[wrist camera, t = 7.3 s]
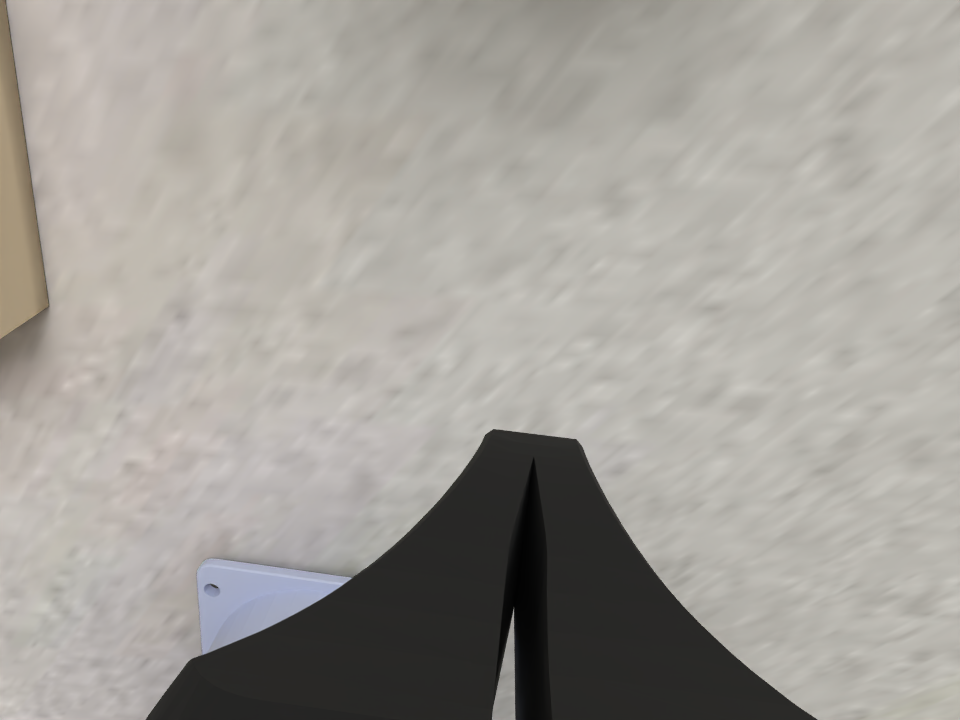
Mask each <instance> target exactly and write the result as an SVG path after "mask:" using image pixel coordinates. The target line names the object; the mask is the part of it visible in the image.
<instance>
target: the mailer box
mask: <svg viewBox="0 0 960 720" xmlns="http://www.w3.org/2000/svg"><path fill="white" fill-rule="evenodd" d="M48 306H49V303H48V296H47V289H46V282H45V275H44V268H43V261H42V254H41V247H40V240H39V233H38V226H37V219H36V212H35V205H34V198H33V191H32V184H31V177H30V170H29V163H28V156H27V149H26V142H25V135H24V128H23V121H22V114H21V107H20V100H19V93H18V86H17V79H16V72H15V65H14V58H13V51H12V44H11V37H10V30H9V23H8V16H7V9H6V2H5V0H0V339H1V338H2V337H4V336H5V335H7V334H8V333H10V332H11V331H13V330H14V329H16V328H17V327H19V326H20V325H22V324H23V323H25V322H26V321H27V320H29V319H30V318H32V317H33V316H35V315H36V314H38V313H39V312H41V311H42V310H44V309H45V308H47V307H48Z"/></svg>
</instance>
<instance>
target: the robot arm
mask: <svg viewBox="0 0 960 720" xmlns="http://www.w3.org/2000/svg"><path fill="white" fill-rule="evenodd" d="M210 584H214V585H216V586H217V587H218V588H214V587H212V586H211V585H210ZM197 589H198V603H199V618H200V632H201V646H202V655H201V656H198V657H196V658H193V659H191V660H190V661H189V662H188V663H187V664H186V666H185V667H184V668H183V670H182V671H181V672H180V674H179V675H178V676H177V678H176V679H175V680H174V682H173V683H172V684H171V685H170V687H169V688H168V689H167V691H166V692H165V693H164V695H163V696H162V698H161V699H160V700H159V702H158V703H157V704H156V706H155V707H154V709H153V710H152V711H151V713H150V714H149V715H148V717H147V718H146V720H492V711H493V705H494V700H495V695H496V690H497V686H498V681H499V676H500V671H501V667H502V662H503V657H504V652H505V648H506V643H507V638H508V633H509V628H510V624H511V619H512V614H513V609H514V640H515V716H516V720H817V719H816V718H814V717H813V716H811V715H810V714H808V713H807V712H805V711H804V710H802V709H801V708H799V707H798V706H796V705H795V704H794V703H792V702H791V701H790V700H788V699H787V698H786V697H784V696H783V695H782V694H781V693H779V692H778V691H777V690H775V689H774V688H773V687H772V686H770V685H769V684H768V683H767V682H765V681H764V680H763V679H761V678H760V677H759V676H758V675H756V674H755V673H754V672H753V671H751V670H750V669H749V668H748V667H747V666H746V665H744V664H743V663H742V662H741V661H740V660H739V659H737V658H736V657H735V656H734V655H733V654H732V653H730V652H729V651H728V650H727V649H726V648H725V647H724V646H723V645H722V644H721V643H720V642H719V641H718V640H717V639H716V638H714V637H713V636H712V635H711V634H710V633H709V632H708V631H707V630H706V629H705V628H704V627H703V626H702V625H701V624H700V623H699V622H698V621H697V620H696V619H695V618H694V617H693V616H692V615H691V614H690V613H689V612H688V611H687V610H686V609H685V608H684V607H683V606H682V605H681V603H680V602H679V601H678V600H677V599H676V598H675V596H674V595H673V594H672V593H671V592H670V591H669V590H668V588H667V587H666V586H665V585H664V583H663V582H662V581H661V580H660V578H659V577H658V576H657V575H656V573H655V572H654V571H653V569H652V568H651V567H650V565H649V564H648V563H647V561H646V560H645V558H644V557H643V555H642V554H641V553H640V551H639V550H638V548H637V547H636V546H635V544H634V543H633V541H632V540H631V538H630V537H629V535H628V533H627V532H626V530H625V529H624V527H623V526H622V524H621V522H620V521H619V519H618V517H617V516H616V514H615V512H614V511H613V509H612V507H611V505H610V504H609V502H608V500H607V498H606V497H605V495H604V493H603V491H602V489H601V487H600V485H599V483H598V481H597V479H596V477H595V475H594V473H593V471H592V469H591V467H590V465H589V462H588V460H587V458H586V455H585V453H584V450H583V447H582V446H581V445H580V443H579V442H578V441H577V440H576V439H569V438H561V437H553V436H545V435H537V434H529V433H520V432H512V431H504V430H496V429H493V430H492V431H490V432H489V433H487V434H486V435H485V437H484V439H483V441H482V443H481V445H480V447H479V448H478V450H477V452H476V453H475V455H474V456H473V458H472V459H471V461H470V462H469V464H468V465H467V466H466V468H465V469H464V470H463V472H462V473H461V475H460V476H459V477H458V478H457V479H456V481H455V482H454V483H453V484H452V486H451V487H450V488H449V489H448V490H447V492H446V493H445V494H444V495H443V497H442V498H441V499H440V500H439V501H438V502H437V503H436V504H435V505H434V507H433V508H432V509H431V510H430V511H429V512H428V513H427V514H426V515H425V516H424V517H423V518H422V519H421V520H420V521H419V522H418V523H417V524H416V525H415V526H414V527H413V528H412V529H411V530H410V531H409V532H408V533H407V534H406V535H405V536H404V537H403V538H402V539H401V540H399V541H398V542H397V543H396V544H395V545H394V546H393V547H392V548H390V549H389V550H388V551H387V552H386V553H384V554H383V555H382V556H381V557H380V558H378V559H377V560H376V561H375V562H373V563H372V564H371V565H370V566H368V567H367V568H366V569H364V570H363V571H361V572H360V573H359V574H357V575H356V576H354V577H353V578H351V577H344V576H336V575H329V574H322V573H315V572H308V571H301V570H294V569H286V568H279V567H272V566H265V565H258V564H251V563H244V562H236V561H229V560H222V559H215V558H213V559H207V560H204V561H203V562H202V564H201V565H200V567H199V568H198V570H197Z"/></svg>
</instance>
